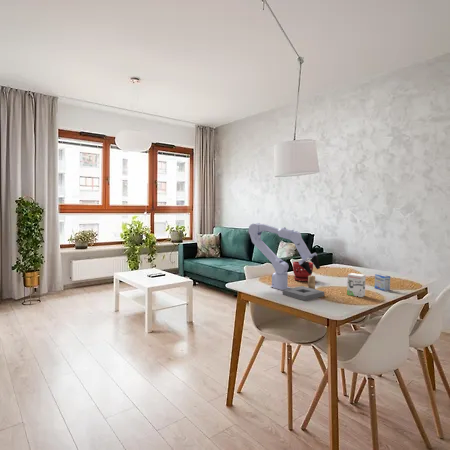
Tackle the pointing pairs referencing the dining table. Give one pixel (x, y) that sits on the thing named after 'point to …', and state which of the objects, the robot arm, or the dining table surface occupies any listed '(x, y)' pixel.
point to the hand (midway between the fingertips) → (314, 271)
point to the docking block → (303, 293)
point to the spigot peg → (311, 282)
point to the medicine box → (382, 282)
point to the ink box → (356, 284)
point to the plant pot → (301, 272)
